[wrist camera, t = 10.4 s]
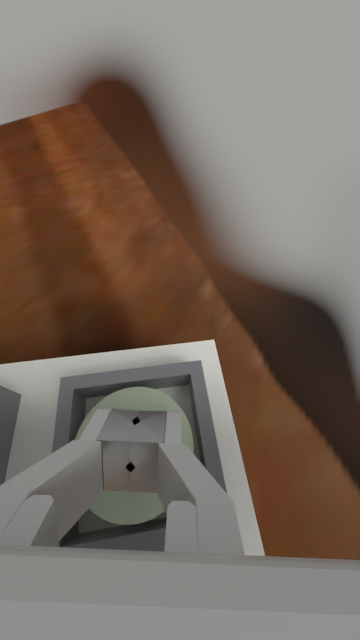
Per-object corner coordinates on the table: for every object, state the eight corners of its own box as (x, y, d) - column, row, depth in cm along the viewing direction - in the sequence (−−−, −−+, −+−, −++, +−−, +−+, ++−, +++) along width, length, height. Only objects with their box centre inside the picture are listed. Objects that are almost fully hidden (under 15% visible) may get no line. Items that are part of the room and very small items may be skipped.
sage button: (182, 394, 12) (184, 380, 10) (197, 500, 10) (204, 511, 8) (94, 406, 12) (76, 394, 10) (89, 519, 10) (65, 537, 7)
